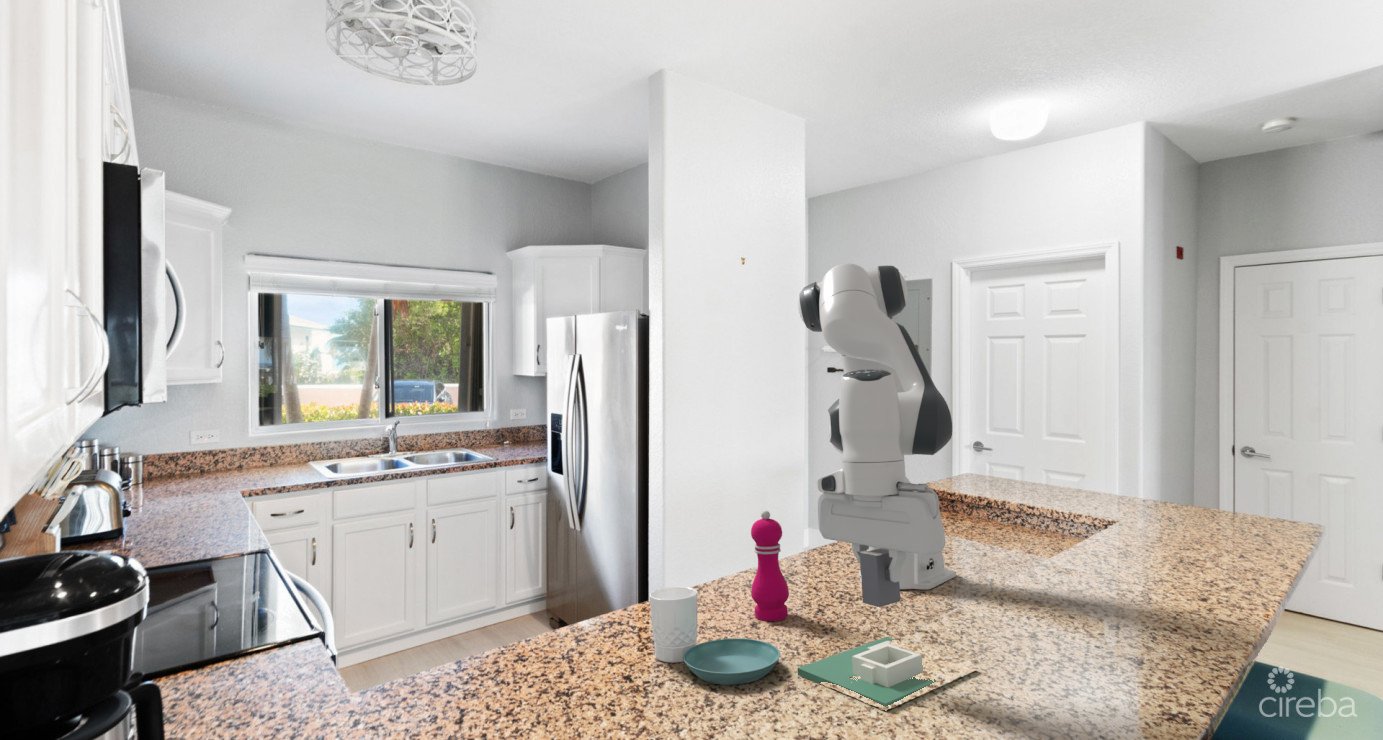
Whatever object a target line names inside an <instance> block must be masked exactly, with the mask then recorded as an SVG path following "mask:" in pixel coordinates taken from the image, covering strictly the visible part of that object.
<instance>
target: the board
mask: <svg viewBox="0 0 1383 740" xmlns="http://www.w3.org/2000/svg"><path fill="white" fill-rule="evenodd" d="M892 640H896V639H894V638H892V637H888V636H885V637H882V638H879V639H875V640H873V641H870V642H868V643H865V644H862V645H859V646H856V647H854V648H849V649H847V650H845V651H841V652H839V653H836V654H833V655H831V656H827V657H825V658H822V659H819V660H817V661H816V660H815V661H813V662H811V663H807V664H805V665H802V666H799V667H797V668H796V669H797V676H799V677H802V678H804V679H807V680H809V681H812V682H814V683H816V684H818V683H821V682H828V683H832V684H836V685H839V686H841V687H844V688H846V689H848V690H851V691H854V692H856V693H858V694H860V695H862V696H864V697H866V698H869V699H871V700H873V701H875V702H877V703H879V704H881V705H883V706H885V707H886V706H888V705H891V704H893V703H894V702H897V701H899V700H901V699H903V698H904V697H906V696H908V695H910V694H912V693H914V692H916V691H918V690H920V689H922V688H924V687H926V686H928V685H930V684H932V683H934V682H936V680H935V679H934V682H933V681H932V680H930V679H929V681H928V680H925V679H924V681H923V680H922V679H921V680H920V679H919V680H918V679H916V678H915V677H913V676H916V675H918V674H920V673H922V672H923V665H922V654H918V653H915V652H912V651H909V650H906V649H902V648H899V647H896V646H893V645H890V644H889V643H890V642H891V641H892ZM888 663H890V664H888ZM886 664H887V665H886ZM853 676H860V677H861V679H858V678H857V679H858V680H857V679H856V678H855V677H854V678H855V679H856V680H857V681H858V682H857V681H856V680H855V679H854V678H853ZM848 677H852V678H853V679H854V680H853V679H850V678H848ZM912 677H913V679H912ZM910 678H911V679H910ZM908 679H909V680H908ZM851 682H852V683H851ZM867 682H868V683H867Z"/></svg>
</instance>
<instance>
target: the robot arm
mask: <svg viewBox="0 0 1383 740" xmlns="http://www.w3.org/2000/svg"><path fill="white" fill-rule="evenodd" d="M908 291H909V290H908V284H907V281H906V279H905V277H904V275H902V274H901V272H900V270H899V268H898V267H895V265H879V266H877V267H874V268H873V267H872V268H864V267H861V266H860V265H858V264H855V263H850V262H849V263H847V262H845V263H840V264H837V265H835V266H833V267H832V268H830V269H828V271H827V272H826V273H825V274H824V276H823V278H822V280H821V281H819V282H816V281H814V282H812V283H810V284H808V285H806V286H805V287H803V288H802V290H801V291H800V293H799V296H798V297H799V298H798V303H797V306H798V307H797V308H798V309H797V310H798V314H799V317H800V318H801V319H800V320H801V321H802V322H803V323H804V325H805V327H806V328H807V329H808V330H810V331H812V332H815V333H821V332H822V335H823V338H824V340H825V343H827V345H828V346H829V347H830V348H832V349H833V350H834V351H835V352H837V353H839V356H840V359H841V360H840V361H841V365H842V369H843V373H844V374H842V376H841V377H840V382H839V383H840V385H839V397H838V399H837V400H836V401H835V402H833V404H832V405H831V406H829V408H828V409H827V411H828V414H829V425H828V437H829V442H830V444H831V445H832V446H833V448H834V449H835V450H836V451H837V452H839V453H840V454H841V468H840V469H837V470H834V471H833V472H831V473H828V474H825V475H822V476H820V477H818V478H817V480H816V485H817V489H818V491H819V492H820V494H819V496H818V500H817V524H818V530H819V533H820V534H821V536H822V537H823V539H824V540H828V541H829V540H831V541H837V542H842V543H848V544H851V545H852V546H851V547H852V548H851V549H852V553H853V554H854V556H855V558H856V560H857V562H858V564H859V570H858V576H859V575H860V576H861V565H860V552H861V551H871V550H875V549H880V548H881V549H887V550H889V557H893V559H892V561H891V564H890V567H887V568H884V572H885V580H887V581H891V582H898V581H899V585H900V590H931V589H933V588H935V587H937V586H939V585H942V584H943V583H945V582H948V581H949V580H951V579H953V578H955V577H957V573H956V571H955V570H954V569H950V568H947V567H945V562H944V561H945V560H944V555H943V550H944V548H945V546H946V537H945V535H946V533H945V529H944V524H943V519H942V514H941V512H940V501H939V495H938V494H937V493H936V491H935V490H934V489H933V488H931V487H930V486H929V485H928V484H926V483H913V482H911V481H910V479H908V477H907V475H906V464H905V456H913V455H922V456H924V455H925V456H927V455H928V456H934V455H936V454H937V453H938V452H939V451H941V450H942V449H943V448H944V447H945V446H946V445H947V444H948V443H949V442H950V441H951V439H952V437H953V417H952V414H951V410H950V408H949V406H948V403H947V401H946V399H945V397H944V396H943V395H942V394H941V392H940V391H939V390H938V388H937V386H936V385H935V383H934V381H933V379H932V377H931V375H930V373H929V371H928V369H927V367H926V365H925V363H924V361H923V359H922V357H921V355H920V352H919V349H917V347H916V345H915V343H914V341H913V339H912V337H911V335H910V334H909V332H908V330H907V329H906V328H905V327H904V325H902V324H900V323H898V322H896V321H894V320H893V317H895V316H897V315H898V314H900V313H902V311H903V310H904V309H905V308H906V305H907V304H906V302H907V300H908V295H909V292H908ZM860 576H859V577H860ZM859 581H860V583H861V584H862V580H861V577H860V578H859Z"/></svg>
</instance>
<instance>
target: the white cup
mask: <svg viewBox="0 0 1383 740" xmlns="http://www.w3.org/2000/svg"><path fill="white" fill-rule="evenodd" d="M649 605H650V618H651V627H652V628H651V629H652V637H653V641H654V655H655V658H656V659H657V660H658V661H660V662H663V663H673V664H674V663H683V662H684V660H683V656H684V653H685V652H686V651H687V650H689V649H690V648H691V647H694V646H696V645H698V643H697V642H698V641H697V638H698V624H699V623H698V590H697V589H695V588H693V587H687V586H671V587H663V588H658V589H655V590H653V591H651V592H650V593H649ZM684 663H685V662H684Z"/></svg>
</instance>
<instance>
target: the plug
mask: <svg viewBox="0 0 1383 740" xmlns="http://www.w3.org/2000/svg"><path fill="white" fill-rule="evenodd" d="M892 559H893V557H889V550H887V549H881V548H880V549H875V550H871V551H861V552H860V563H859V566H860V565H861V577H860V578H861V580H862V583H861V592H862V593H861V594H862V603H863V604H865V605H870V606H874V607H877V608H881V607H885V606H889V605H892V604H895V603H900V602H901V601H902V600H901V589H900V585H899V581H898V582H891V581H887V580H885V572H884V568H887V567H890V564H891V561H892Z"/></svg>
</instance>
